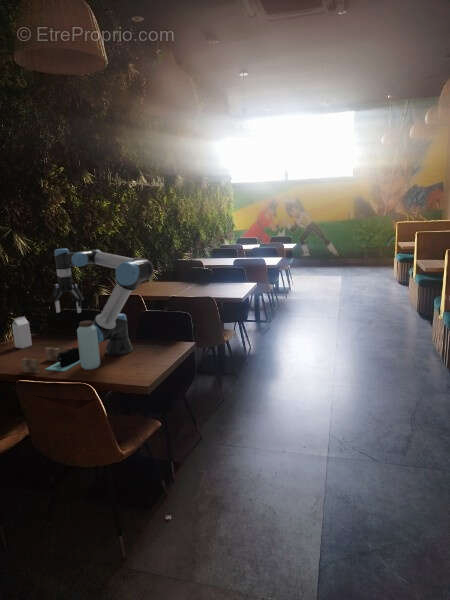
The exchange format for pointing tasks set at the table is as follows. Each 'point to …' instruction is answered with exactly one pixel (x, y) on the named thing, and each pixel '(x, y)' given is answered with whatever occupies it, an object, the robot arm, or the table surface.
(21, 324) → the milk carton
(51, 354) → the slot block
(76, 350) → the camera
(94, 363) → the water bottle
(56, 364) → the mat
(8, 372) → the table surface
